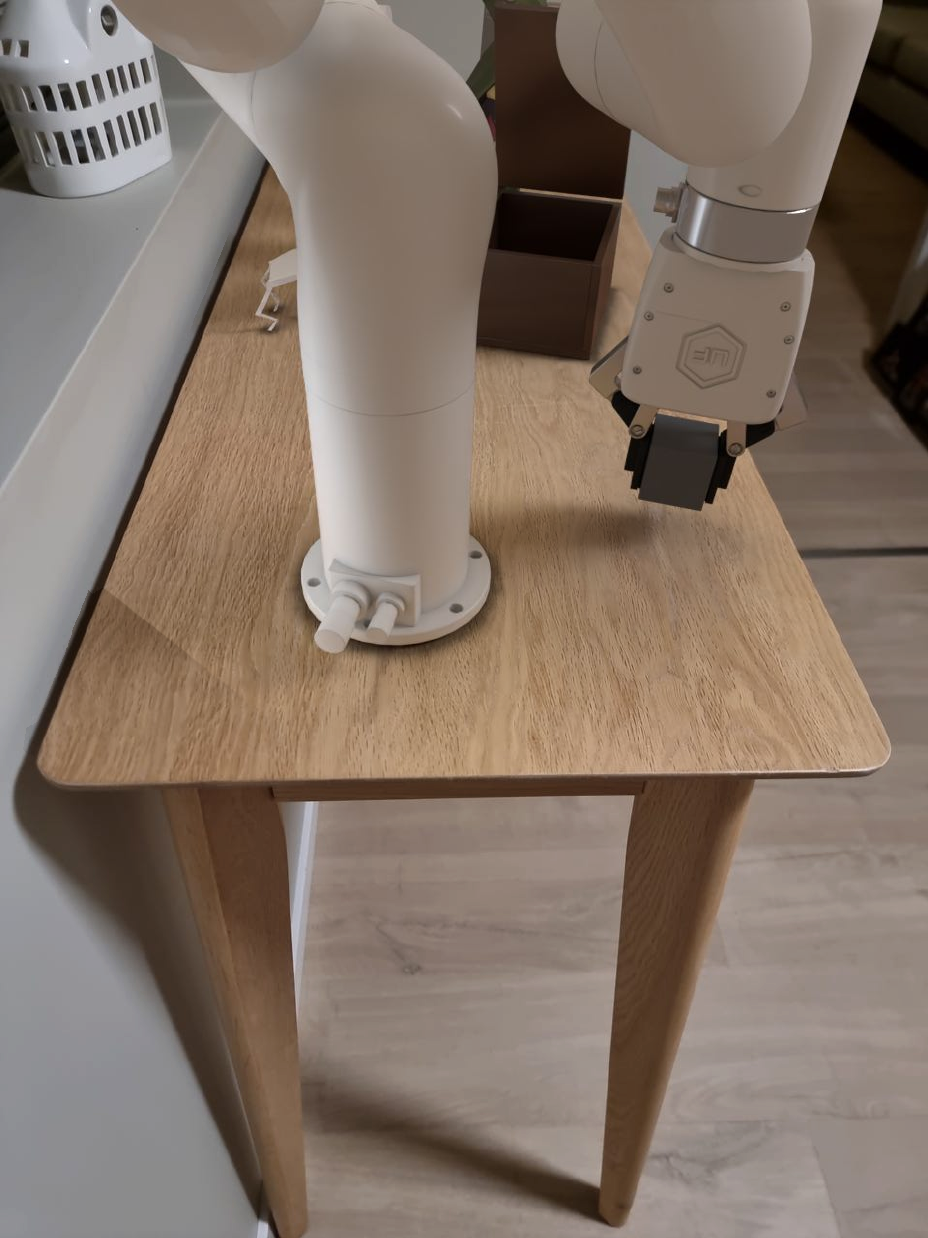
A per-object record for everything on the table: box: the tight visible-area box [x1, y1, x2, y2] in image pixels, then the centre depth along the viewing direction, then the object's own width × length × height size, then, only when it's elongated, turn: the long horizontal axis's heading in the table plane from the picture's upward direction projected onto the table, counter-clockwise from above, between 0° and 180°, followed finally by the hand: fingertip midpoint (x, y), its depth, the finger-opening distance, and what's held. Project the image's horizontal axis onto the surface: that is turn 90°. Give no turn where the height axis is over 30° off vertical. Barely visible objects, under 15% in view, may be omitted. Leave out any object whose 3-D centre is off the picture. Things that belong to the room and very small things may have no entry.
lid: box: [494, 1, 633, 201], centre depth 84 cm, size 16×13×5 cm
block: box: [637, 412, 721, 512], centre depth 64 cm, size 4×4×4 cm
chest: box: [476, 189, 623, 361], centre depth 88 cm, size 16×13×9 cm
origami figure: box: [254, 247, 297, 332], centre depth 89 cm, size 12×8×5 cm
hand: (672, 483), depth 65 cm, fingers closed on block, 4 cm apart
